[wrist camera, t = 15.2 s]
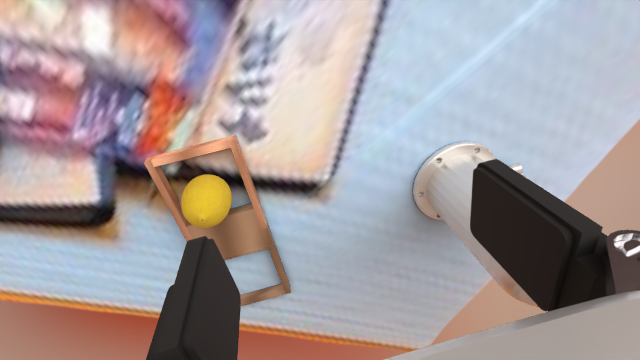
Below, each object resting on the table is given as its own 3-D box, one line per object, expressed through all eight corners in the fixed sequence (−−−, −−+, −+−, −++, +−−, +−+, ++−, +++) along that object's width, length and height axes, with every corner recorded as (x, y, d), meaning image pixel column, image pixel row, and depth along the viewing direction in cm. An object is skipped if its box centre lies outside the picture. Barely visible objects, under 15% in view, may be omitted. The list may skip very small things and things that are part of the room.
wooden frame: (235, 135, 38) (235, 139, 37) (289, 285, 51) (290, 292, 50) (147, 157, 37) (143, 162, 36) (225, 302, 51) (224, 310, 49)
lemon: (205, 208, 42) (195, 248, 35) (178, 176, 39) (162, 213, 32) (242, 189, 42) (239, 227, 35) (218, 156, 39) (209, 189, 32)
